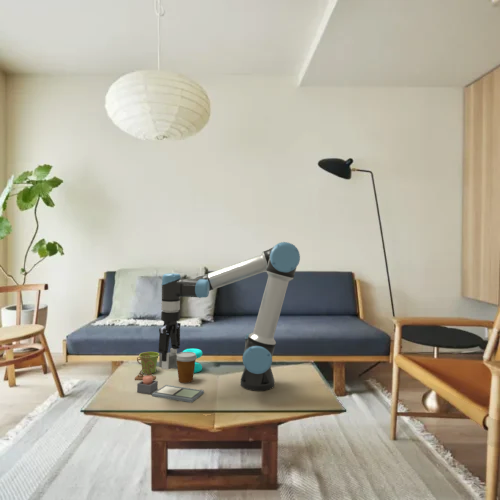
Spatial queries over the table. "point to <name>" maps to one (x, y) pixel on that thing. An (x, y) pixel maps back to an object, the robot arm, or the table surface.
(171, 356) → the dice cube
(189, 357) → the disposable coffee cup
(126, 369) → the table surface
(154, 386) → the button housing
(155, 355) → the plant pot
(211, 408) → the table surface
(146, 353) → the brown scrollwork sculpture
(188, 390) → the picture board
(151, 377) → the button
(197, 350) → the donuts
